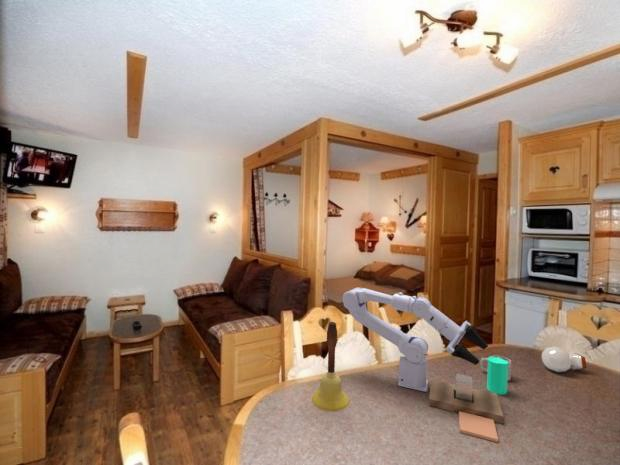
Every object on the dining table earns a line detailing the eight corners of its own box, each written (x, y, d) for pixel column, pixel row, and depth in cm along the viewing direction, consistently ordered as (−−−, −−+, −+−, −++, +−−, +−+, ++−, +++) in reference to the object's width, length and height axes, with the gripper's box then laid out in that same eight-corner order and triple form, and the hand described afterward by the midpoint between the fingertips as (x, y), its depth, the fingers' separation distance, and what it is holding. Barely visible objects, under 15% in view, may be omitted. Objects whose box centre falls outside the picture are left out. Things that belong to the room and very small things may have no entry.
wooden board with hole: (428, 405, 96) (429, 398, 96) (430, 385, 108) (431, 379, 108) (503, 423, 88) (503, 416, 88) (496, 400, 100) (496, 393, 100)
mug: (510, 375, 117) (511, 358, 117) (510, 382, 111) (511, 364, 111) (480, 368, 122) (481, 351, 122) (479, 375, 117) (480, 357, 117)
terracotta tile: (459, 432, 84) (460, 429, 84) (458, 413, 92) (458, 411, 92) (498, 442, 80) (498, 439, 80) (493, 422, 89) (493, 419, 89)
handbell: (342, 387, 106) (343, 315, 105) (355, 408, 94) (357, 327, 93) (307, 391, 103) (309, 317, 102) (316, 413, 91) (318, 330, 90)
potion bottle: (540, 372, 122) (573, 376, 124) (560, 368, 114) (595, 371, 116) (531, 348, 128) (563, 352, 129) (550, 342, 120) (584, 346, 121)
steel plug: (455, 404, 97) (456, 380, 97) (455, 397, 101) (456, 373, 101) (471, 408, 95) (472, 383, 95) (470, 401, 99) (471, 376, 99)
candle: (510, 395, 103) (511, 360, 102) (490, 393, 104) (491, 358, 104) (502, 386, 109) (504, 353, 108) (484, 384, 110) (485, 351, 110)
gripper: (440, 332, 96) (480, 365, 91) (458, 307, 105) (496, 335, 99) (430, 342, 101) (468, 374, 96) (448, 317, 110) (484, 345, 104)
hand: (481, 355), depth 98 cm, fingers open, 7 cm apart
